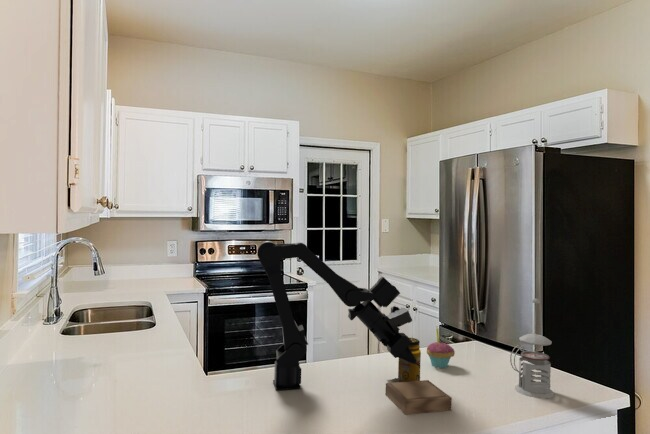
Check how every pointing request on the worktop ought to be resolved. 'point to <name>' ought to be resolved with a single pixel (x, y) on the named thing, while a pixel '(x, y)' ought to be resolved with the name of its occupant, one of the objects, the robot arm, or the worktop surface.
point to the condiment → (409, 365)
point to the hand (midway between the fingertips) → (411, 358)
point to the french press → (534, 367)
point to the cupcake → (440, 353)
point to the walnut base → (418, 397)
